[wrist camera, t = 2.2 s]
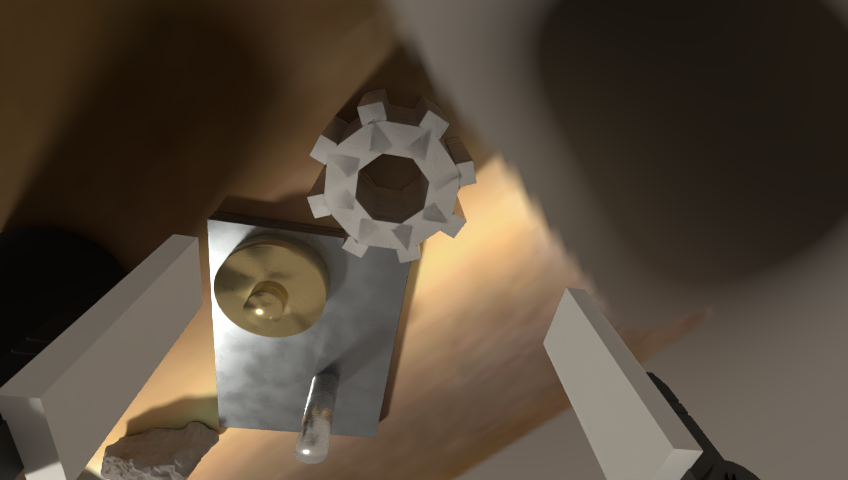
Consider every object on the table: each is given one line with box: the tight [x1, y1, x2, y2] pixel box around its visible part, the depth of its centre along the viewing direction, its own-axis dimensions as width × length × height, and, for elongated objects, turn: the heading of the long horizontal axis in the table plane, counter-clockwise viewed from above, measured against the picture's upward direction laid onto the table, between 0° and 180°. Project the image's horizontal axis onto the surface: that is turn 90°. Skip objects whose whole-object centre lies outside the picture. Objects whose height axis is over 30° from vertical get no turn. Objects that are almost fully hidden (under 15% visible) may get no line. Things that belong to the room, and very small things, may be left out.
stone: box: [101, 422, 219, 480], centre depth 39 cm, size 10×8×6 cm
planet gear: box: [307, 88, 476, 263], centre depth 27 cm, size 10×10×6 cm
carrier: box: [207, 211, 411, 464], centre depth 32 cm, size 22×15×8 cm
